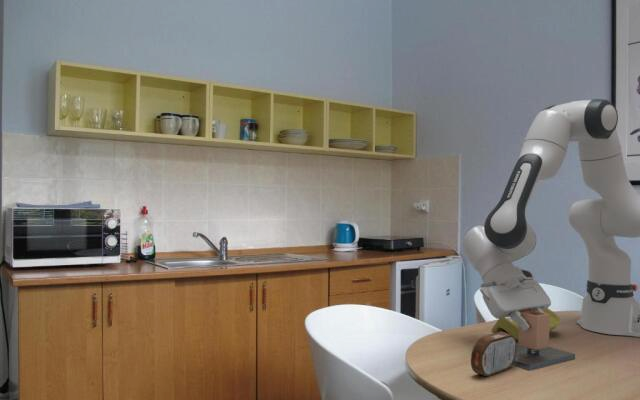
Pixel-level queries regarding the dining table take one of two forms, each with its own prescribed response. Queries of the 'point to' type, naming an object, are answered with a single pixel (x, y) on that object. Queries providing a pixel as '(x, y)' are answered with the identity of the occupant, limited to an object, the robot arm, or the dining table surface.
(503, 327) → the plastic component
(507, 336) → the tin
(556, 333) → the dining table surface
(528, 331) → the sleeve
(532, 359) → the base
